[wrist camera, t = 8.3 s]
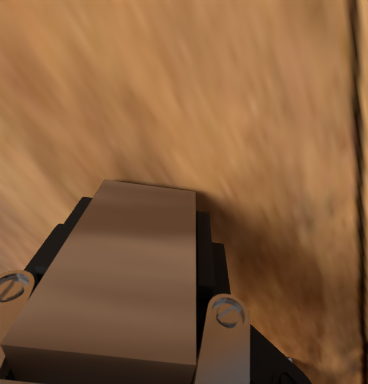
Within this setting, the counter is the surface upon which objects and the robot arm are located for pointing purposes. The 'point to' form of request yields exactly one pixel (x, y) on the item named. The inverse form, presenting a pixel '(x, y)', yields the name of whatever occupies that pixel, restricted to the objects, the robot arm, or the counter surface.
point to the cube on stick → (115, 295)
